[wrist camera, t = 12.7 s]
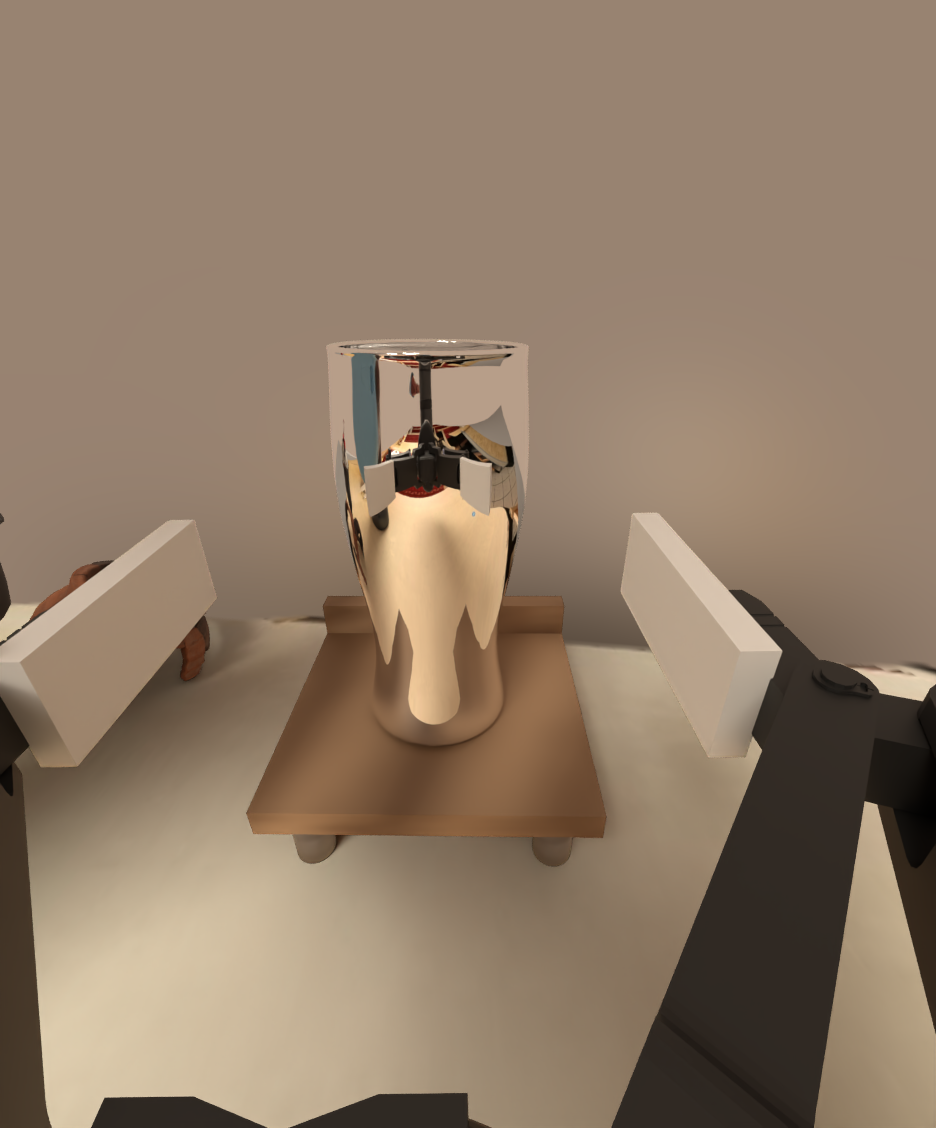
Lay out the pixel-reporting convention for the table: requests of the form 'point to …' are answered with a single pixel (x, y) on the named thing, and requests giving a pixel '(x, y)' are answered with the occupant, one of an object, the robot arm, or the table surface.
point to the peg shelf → (435, 750)
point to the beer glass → (432, 518)
